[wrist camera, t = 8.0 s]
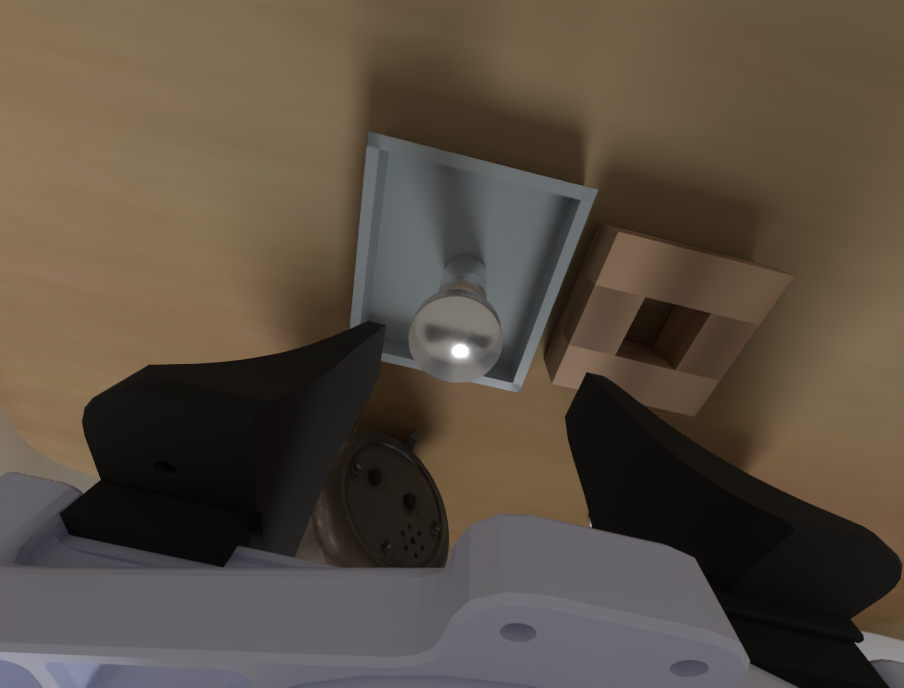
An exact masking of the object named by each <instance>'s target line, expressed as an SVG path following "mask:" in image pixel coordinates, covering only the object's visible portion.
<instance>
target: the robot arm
mask: <svg viewBox="0 0 904 688" xmlns="http://www.w3.org/2000/svg"><path fill="white" fill-rule="evenodd" d="M385 329H386V325H384V324H380V323H376V322H371V321H367V322H364V323H362V324H360V325H357V326H355V327H353V328H351V329H348V330H346V331H344V332H342V333H339V334H337V335H335V336H332V337H329V338H327V339H324V340H321V341H319V342H316V343H313V344H311V345H308V346H304V347H301V348H298V349H294V350H290V351H286V352H282V353H278V354H273V355H267V356H262V357H256V358H250V359H244V360H236V361H227V362H215V363H201V364H169V365H148V366H146V367H144V368H143V369H141V370H139V371H138V372H136V373H134V374H133V375H131V376H129V377H128V378H126V379H124V380H122V381H121V382H119V383H117V384H116V385H114V386H112V387H111V388H109V389H107V390H106V391H104V392H102V393H100V394H99V395H97V396H95V397H94V398H92V400H91V401H90V402H89V403H88V404H87V406H86V407H85V409H84V414H83V419H82V424H83V429H84V434H85V438H86V441H87V443H88V446H89V449H90V452H91V454H92V457H93V460H94V462H95V465H96V468H97V471H98V473H99V476H100V479H101V480H100V481H99V482H98V483H96V484H95V485H94V486H93V487H91V488H90V489H89V490H88V491H87V492H85V493H84V494H83V493H82V492H81V491H80V490H78V489H77V488H75V487H74V486H72V485H69V484H67V483H64V482H59V481H54V480H49V479H45V478H40V477H36V476H31V475H26V474H22V473H17V472H7V473H5V474H4V475H2V476H0V688H904V663H901V662H897V661H892V660H883V659H880V660H872V661H868V660H867V658H866V657H865V656H864V654H863V653H862V652H861V651H860V649H859V648H858V647H857V646H856V644H855V643H854V642H857V643H860V642H862V641H863V640H864V637H863V634H862V633H861V632H860V631H859V629H858V628H857V627H856V626H855V624H854V623H853V622H852V621H851V618H852V617H854V616H855V615H857V614H858V613H860V612H861V611H863V610H864V609H866V608H867V607H869V606H870V605H872V604H873V603H875V602H876V601H878V600H879V599H881V598H882V597H884V596H885V595H886V594H887V593H889V592H890V591H891V590H892V589H893V588H894V587H895V586H896V584H897V583H898V581H899V580H900V578H901V571H902V563H901V561H900V559H899V557H898V555H897V554H896V553H895V552H894V551H893V550H892V549H891V548H889V547H888V546H887V545H886V544H885V543H884V542H883V541H882V540H881V539H880V538H879V537H878V536H877V535H875V534H874V533H873V532H871V531H870V530H868V529H867V528H865V527H863V526H861V525H859V524H856V523H854V522H852V521H849V520H847V519H845V518H842V517H840V516H837V515H835V514H833V513H830V512H828V511H826V510H823V509H821V508H819V507H816V506H814V505H811V504H809V503H807V502H804V501H802V500H800V499H798V498H796V497H794V496H792V495H790V494H787V493H785V492H783V491H781V490H779V489H777V488H775V487H773V486H771V485H769V484H767V483H765V482H763V481H761V480H759V479H757V478H755V477H753V476H751V475H749V474H747V473H746V472H744V471H742V470H740V469H738V468H736V467H735V466H733V465H731V464H729V463H727V462H726V461H724V460H722V459H720V458H719V457H717V456H715V455H714V454H712V453H710V452H709V451H707V450H706V449H704V448H702V447H701V446H699V445H698V444H696V443H695V442H693V441H691V440H690V439H688V438H687V437H685V436H684V435H682V434H681V433H680V432H678V431H677V430H675V429H674V428H673V427H671V426H670V425H668V424H667V423H666V422H664V421H663V420H662V419H660V418H659V417H658V416H656V415H655V414H654V413H652V412H651V411H650V410H649V409H647V408H646V407H645V406H643V405H642V404H641V403H640V402H638V401H637V400H636V399H635V398H633V397H632V396H631V395H630V394H628V393H627V392H626V391H624V390H623V389H622V388H621V387H619V386H618V385H617V384H615V383H614V382H612V381H611V380H609V379H608V378H606V377H604V376H602V375H597V374H593V373H589V372H586V374H585V376H584V379H583V381H582V383H581V385H580V387H579V389H578V391H577V393H576V395H575V397H574V399H573V402H572V404H571V406H570V408H569V410H568V412H567V414H566V416H565V420H566V428H567V435H568V442H569V445H570V449H571V452H572V456H573V459H574V462H575V466H576V469H577V472H578V475H579V479H580V482H581V485H582V489H583V492H584V495H585V498H586V502H587V506H588V510H589V515H590V519H589V524H590V526H591V527H592V528H588V527H584V526H579V525H575V524H570V523H566V522H561V521H557V520H552V519H548V518H543V517H539V516H534V515H525V514H498V515H495V516H492V517H489V518H486V519H483V520H480V521H477V522H475V523H473V524H471V525H470V526H469V528H468V529H467V530H466V531H465V532H464V533H463V534H462V535H461V537H460V538H459V539H458V540H457V541H456V543H455V546H454V548H453V551H452V554H451V557H450V560H449V562H448V563H447V565H446V566H445V568H341V567H336V566H332V565H327V564H322V563H317V562H313V561H308V560H303V559H299V558H295V555H296V553H297V550H298V548H299V545H300V543H301V540H302V538H303V535H304V533H305V530H306V528H307V525H308V523H309V520H310V518H311V515H312V513H313V510H314V508H315V505H316V503H317V501H318V498H319V496H320V493H321V491H322V489H323V486H324V484H325V482H326V479H327V477H328V475H329V472H330V470H331V468H332V466H333V463H334V461H335V459H336V456H337V454H338V452H339V450H340V448H341V447H342V445H343V443H344V441H345V439H346V438H347V436H348V434H349V432H350V431H351V429H352V427H353V425H354V424H355V422H356V420H357V418H358V417H359V415H360V413H361V412H362V410H363V408H364V406H365V404H366V403H367V401H368V399H369V397H370V395H371V393H372V390H373V388H374V386H375V383H376V380H377V378H378V375H379V370H380V364H381V357H382V350H383V343H384V336H385Z"/></svg>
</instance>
